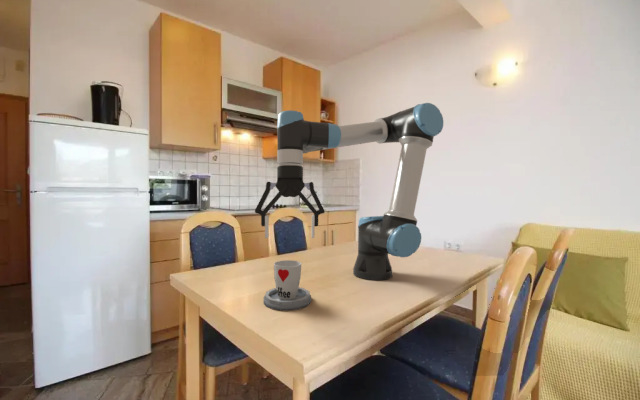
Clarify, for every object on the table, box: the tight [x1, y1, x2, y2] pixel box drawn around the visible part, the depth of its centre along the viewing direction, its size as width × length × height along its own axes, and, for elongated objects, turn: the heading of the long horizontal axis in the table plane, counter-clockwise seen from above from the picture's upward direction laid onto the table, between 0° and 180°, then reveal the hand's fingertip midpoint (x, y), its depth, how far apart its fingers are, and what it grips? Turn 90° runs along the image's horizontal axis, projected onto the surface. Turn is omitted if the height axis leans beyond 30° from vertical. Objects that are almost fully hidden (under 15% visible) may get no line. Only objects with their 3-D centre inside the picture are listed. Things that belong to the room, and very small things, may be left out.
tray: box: [263, 286, 312, 312], centre depth 87 cm, size 14×14×2 cm
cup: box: [273, 259, 302, 300], centre depth 86 cm, size 8×8×10 cm
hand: (290, 237), depth 87 cm, fingers open, 13 cm apart
